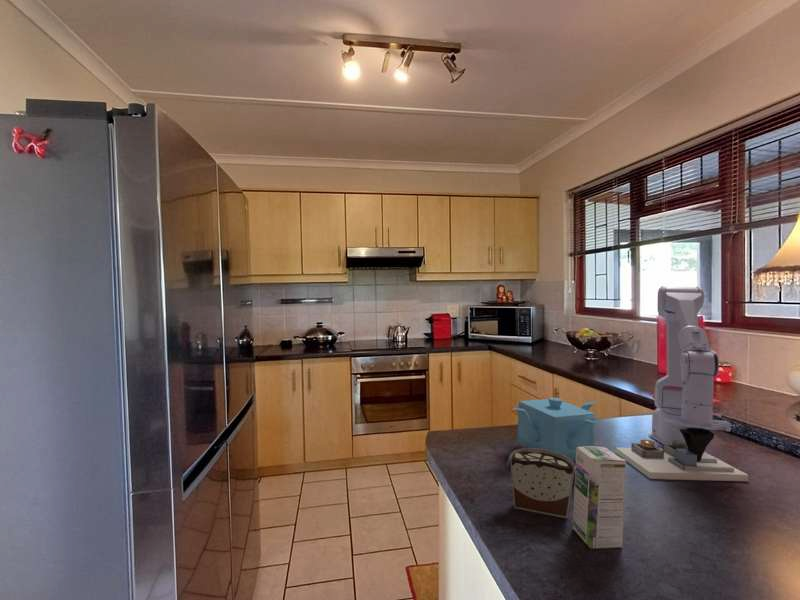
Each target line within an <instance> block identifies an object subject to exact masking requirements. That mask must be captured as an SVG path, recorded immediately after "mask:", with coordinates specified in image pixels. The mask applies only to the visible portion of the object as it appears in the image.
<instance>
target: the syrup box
mask: <svg viewBox="0 0 800 600" xmlns="http://www.w3.org/2000/svg"><path fill="white" fill-rule="evenodd" d="M575 467H576V468H575V473H574V488H573V490H574V491H573V512H572V513H573V514H572V529H573V531H575V533H576V534H577V535H578V536H579V537H580V539H582V541H583V542H584V544H586V545H587V547H589V549H595V550H596V549H614V548H615V549H616V548H623V542H624V541H623V540H624V539H623V538H624V537H623V536H624V535H623V534H624V521H625V520H624V519H625V516H624V515H625V498H626V495H625V494H626V475H627V474H626V473H627V472H626V471H627V461H626V460H624V459H623V458H621V457H620V456H619V455H617V454H616V453H614V452H613V451H611V450H609V448H607V447H603V446H596V445H594V446H584V447H577V448H576V463H575Z"/></svg>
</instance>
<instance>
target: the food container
mask: <svg viewBox="0 0 800 600" xmlns="http://www.w3.org/2000/svg"><path fill="white" fill-rule="evenodd" d="M509 464H510V473H511V488H512V496H513V497H512V499H513V508H514V509H517V510H523V511H528V512H533V513H539V514H544V515H549V516H552V517H553V516H554V517H559V518H564V519H568V517H569V515H568V514H569V509H570V502H571V497H572V496H571V495H572V490H573V489H572V488H573V482H574V478H575V468H576V463H573V461H572V460H571V459H569V458H568V457H566V456H564V455H562V454H560V453H557V452H554V451H550V450H545V449H539V448H527V447H523V448H522V447H521V448H517V449H516V450H515V449H514V450H513V451H512V452H510V455H509V457H508V459H507V466H509Z"/></svg>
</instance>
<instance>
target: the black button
mask: <svg viewBox="0 0 800 600" xmlns="http://www.w3.org/2000/svg"><path fill="white" fill-rule="evenodd" d="M672 448H673V449H676V448H677V449H687V444H686V443H685V442H682V441H677V440H673V441H672Z"/></svg>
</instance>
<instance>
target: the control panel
mask: <svg viewBox="0 0 800 600" xmlns="http://www.w3.org/2000/svg"><path fill="white" fill-rule="evenodd" d="M640 444H641V442H640V443H637V442H635V443H632V442H631V447H615V453H614V454H616V455H617V456H619V457H620V458H621V459H624V460H626V463H627V464H630V465H631V466H632V467H633V468H635V469H636V470H637V471H639V472H640V473H642V475H644V476H645V477H647V478H648V479H650V480H676V481H677V480H679V481H680V480H681V481H683V480H684V481H686V480H687V481H712V482H713V481H719V482H720V481H721V482H723V481H724V482H748V481H749V474H747V473H746V472H743V471H742V470H740V469H738V468H736V467H734V466H732V465H730V464H729V463H727V462H725V461H722V460H721V459H719V458H716V456H713V455H712V454H709V453H707V452H705V451H704V453H703V455H702V458H701V461H700V462H697V466H683V465H682V464H680V463H678V462H677V461H675V449H673V448H672V444H662V448H659V447H658V446H656V445H655V450H645V449H643V448H641V447H640ZM687 450H688V447H687Z"/></svg>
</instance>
